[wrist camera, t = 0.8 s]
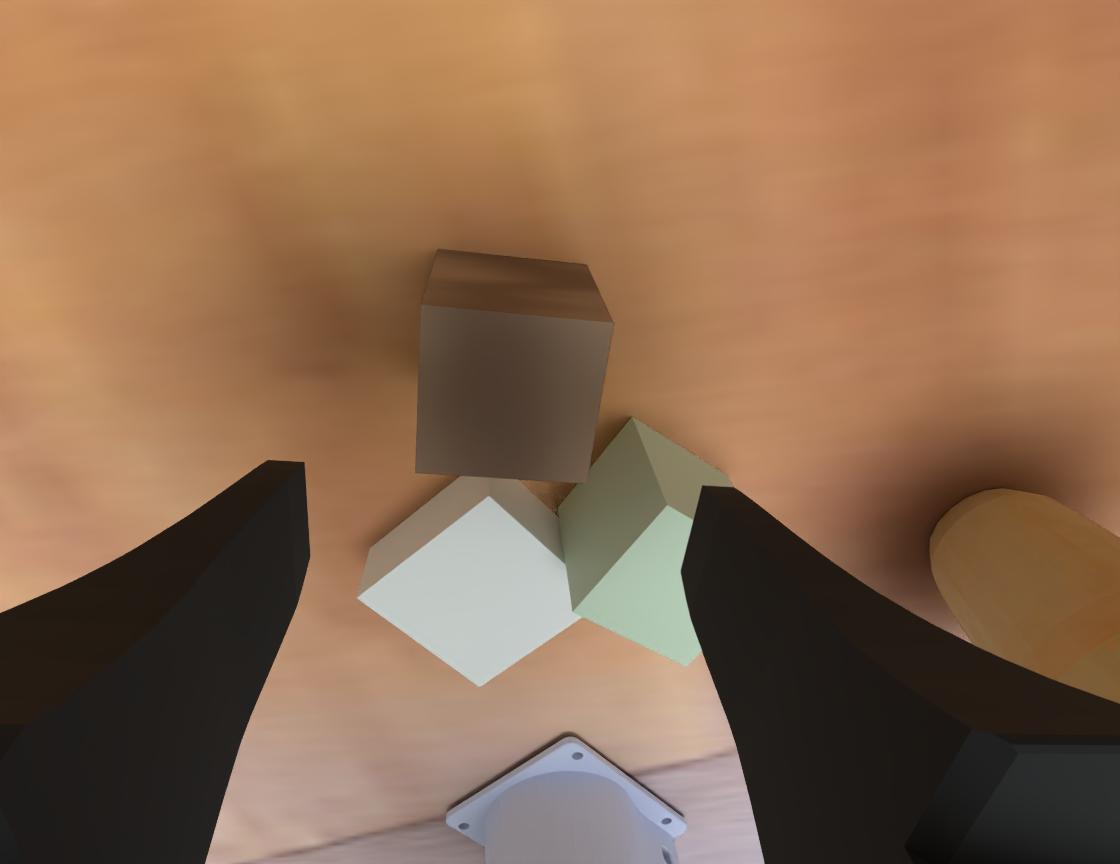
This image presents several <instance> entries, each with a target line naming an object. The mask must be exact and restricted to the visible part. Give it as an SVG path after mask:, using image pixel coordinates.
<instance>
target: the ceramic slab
mask: <svg viewBox="0 0 1120 864" xmlns="http://www.w3.org/2000/svg"><path fill="white" fill-rule="evenodd" d="M357 599H359V600H360V601H361V602H363V603H364V604H366V605H367V606H368V607H370V608H371V609H372V610H374V611H375V612H377V613H378V614H379V615H381V616H382V617H384V618H385V619H386V620H388V621H389V622H390V623H392V624H393V625H395V626H396V627H397V628H399V629H400V630H401V631H403V632H404V633H406V634H407V635H408V636H410V637H411V638H412V639H414V640H415V641H417V642H418V643H419V644H421V645H422V646H423V647H425V648H426V649H428V650H429V651H430V652H432V653H433V654H435V655H436V656H437V657H439V658H440V659H441V660H443V661H444V662H446V663H447V664H448V665H450V666H451V667H452V668H454V669H455V670H457V671H458V672H459V673H461V674H462V675H463V676H465V677H466V678H468V679H469V680H470V681H472V682H473V683H474V684H476V685H477V686H479V687H481V686H482V685H484V684H485V683H487V682H488V681H490V680H491V679H492V678H494V677H495V676H497V675H498V674H500V673H501V672H503V671H504V670H506V669H507V668H509V667H510V666H511V665H513V664H514V663H516V662H517V661H519V660H520V659H522V658H523V657H525V656H526V655H528V654H529V653H531V652H532V651H533V650H535V649H536V648H538V647H539V646H541V645H542V644H544V643H545V642H547V641H548V640H550V639H551V638H553V637H554V636H555V635H557V634H558V633H560V632H561V631H563V630H564V629H566V628H567V627H569V626H570V625H572V624H573V623H575V622H576V621H577V620H579V619H580V618H582V616H579V615H577V614H575V613H573V612H572V606H571V599H570V592H569V585H568V578H567V571H566V564H565V557H564V550H563V543H562V536H561V529H560V522H559V517H558V516H557V515H556V514H554V513H553V512H552V511H551V510H550V509H549V508H548V507H547V506H546V505H545V504H544V503H543V502H542V501H541V500H540V499H539V498H537V497H536V496H535V495H534V494H533V493H532V492H531V491H530V490H529V489H528V488H527V487H526V486H525V485H524V484H523V483H521V482H520V481H519V480H518V479H503V478H487V477H471V476H460V477H458V478H457V479H456V480H455V481H453V482H452V483H451V484H450V485H448V486H447V487H446V488H445V489H443V490H442V491H441V492H440V493H438V494H437V495H436V496H435V497H433V498H432V499H431V500H430V501H428V502H427V503H426V504H425V505H423V506H422V507H421V508H419V509H418V510H417V511H416V512H414V513H413V514H412V515H411V516H409V517H408V518H407V519H406V520H404V521H403V522H402V523H401V524H399V525H398V526H397V527H396V528H394V529H393V530H392V531H391V532H389V533H388V534H387V535H386V536H384V537H383V538H382V539H381V540H379V541H378V542H377V543H376V544H374V545H373V546H372V547H370V549H369V553H368V557H367V561H366V565H365V568H364V572H363V576H362V580H361V583H360V587H359V591H358V595H357Z"/></svg>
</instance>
